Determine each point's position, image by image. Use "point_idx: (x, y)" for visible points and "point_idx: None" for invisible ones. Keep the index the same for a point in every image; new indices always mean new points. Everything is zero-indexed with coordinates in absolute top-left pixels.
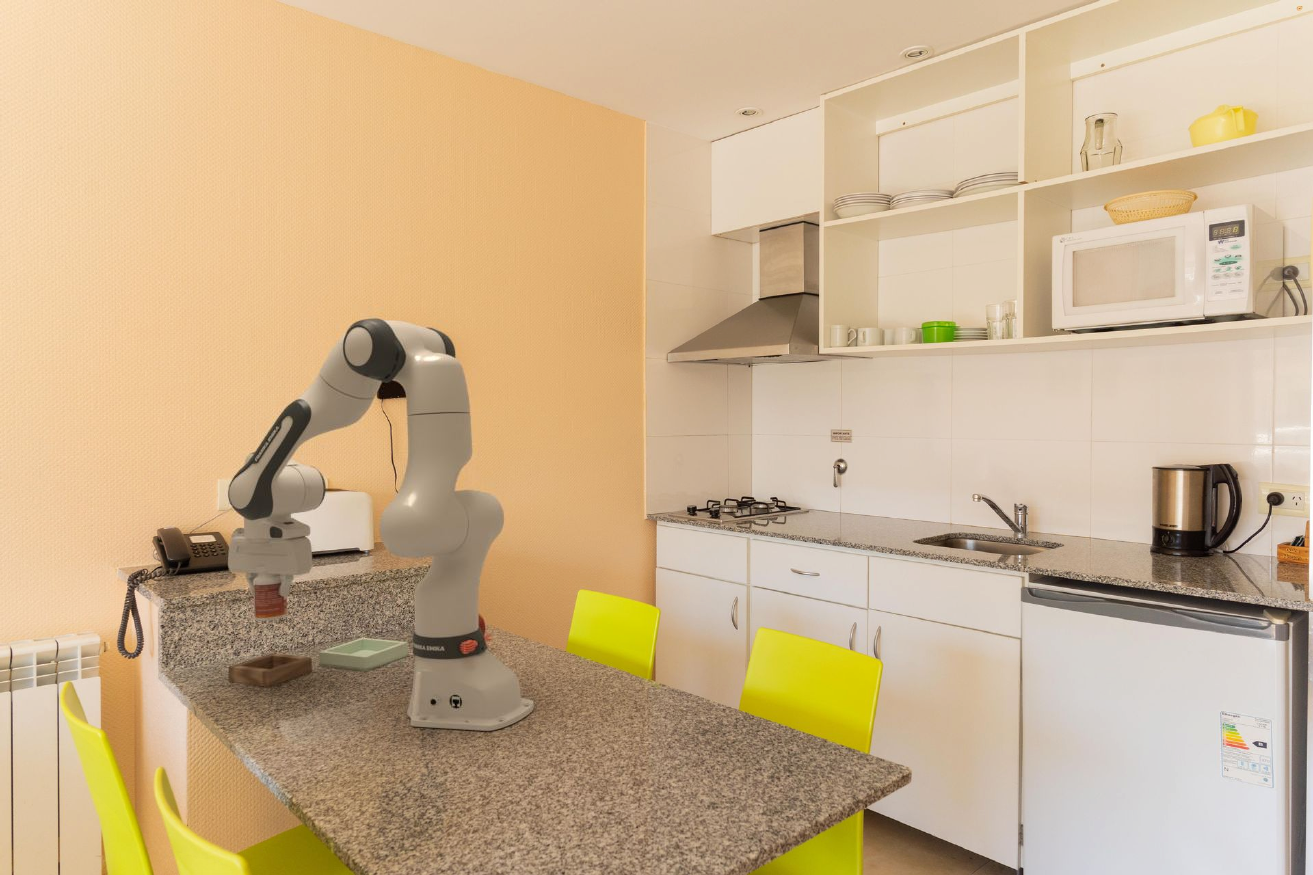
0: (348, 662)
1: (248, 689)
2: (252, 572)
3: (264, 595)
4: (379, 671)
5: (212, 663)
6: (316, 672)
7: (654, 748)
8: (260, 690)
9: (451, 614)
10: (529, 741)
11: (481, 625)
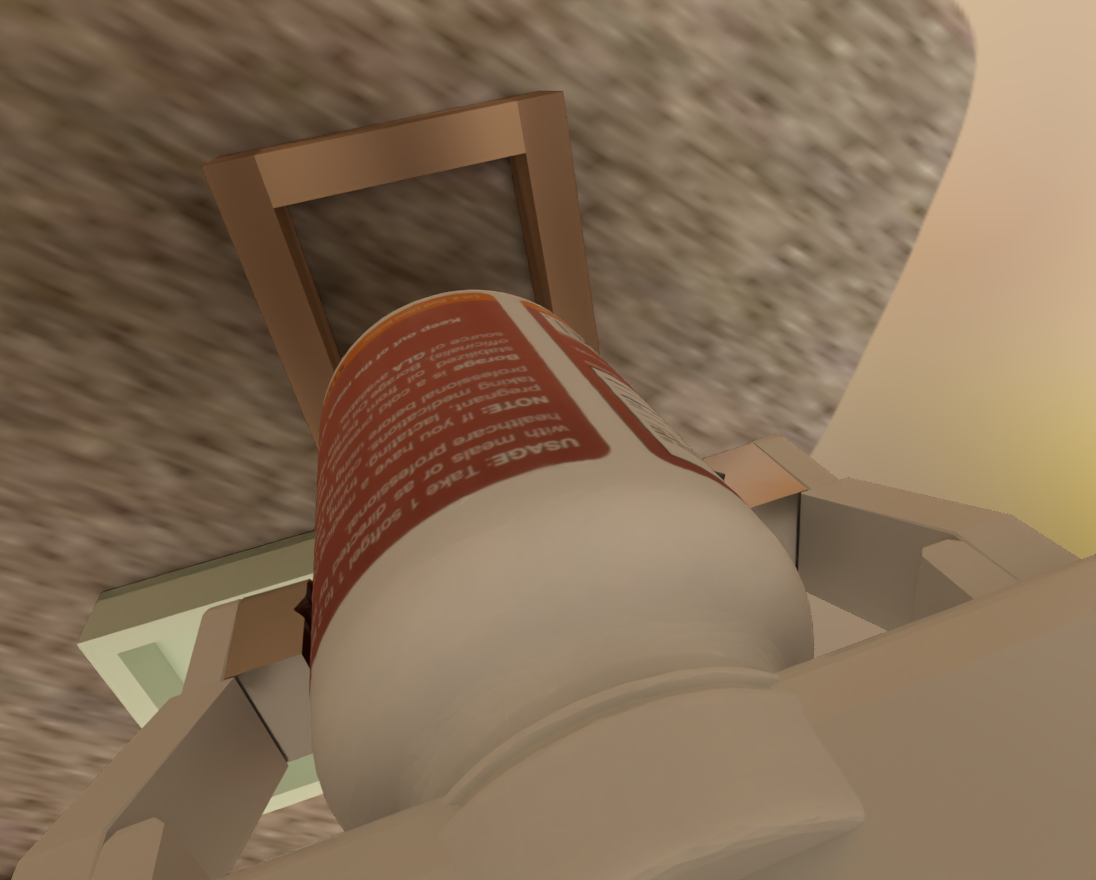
0: (210, 580)
1: (276, 60)
2: (900, 629)
3: (377, 448)
4: (53, 629)
5: (901, 234)
6: (302, 449)
7: None
8: (188, 90)
9: None
10: None
11: None
